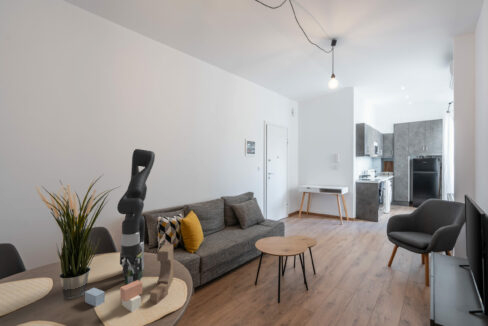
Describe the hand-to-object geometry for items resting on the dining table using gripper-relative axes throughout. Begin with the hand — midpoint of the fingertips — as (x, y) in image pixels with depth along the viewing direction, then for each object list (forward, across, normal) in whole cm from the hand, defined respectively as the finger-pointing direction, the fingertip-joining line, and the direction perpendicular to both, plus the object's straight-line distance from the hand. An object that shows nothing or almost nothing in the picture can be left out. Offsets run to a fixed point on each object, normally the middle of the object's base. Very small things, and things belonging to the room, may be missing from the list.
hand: (130, 277), depth 104 cm
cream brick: (+13, -1, 0) cm, 13 cm away
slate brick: (+14, +16, +8) cm, 23 cm away
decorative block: (+14, +2, -20) cm, 25 cm away
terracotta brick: (+8, -1, 0) cm, 8 cm away
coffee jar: (+14, +20, -13) cm, 28 cm away
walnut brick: (+13, -6, -11) cm, 18 cm away
